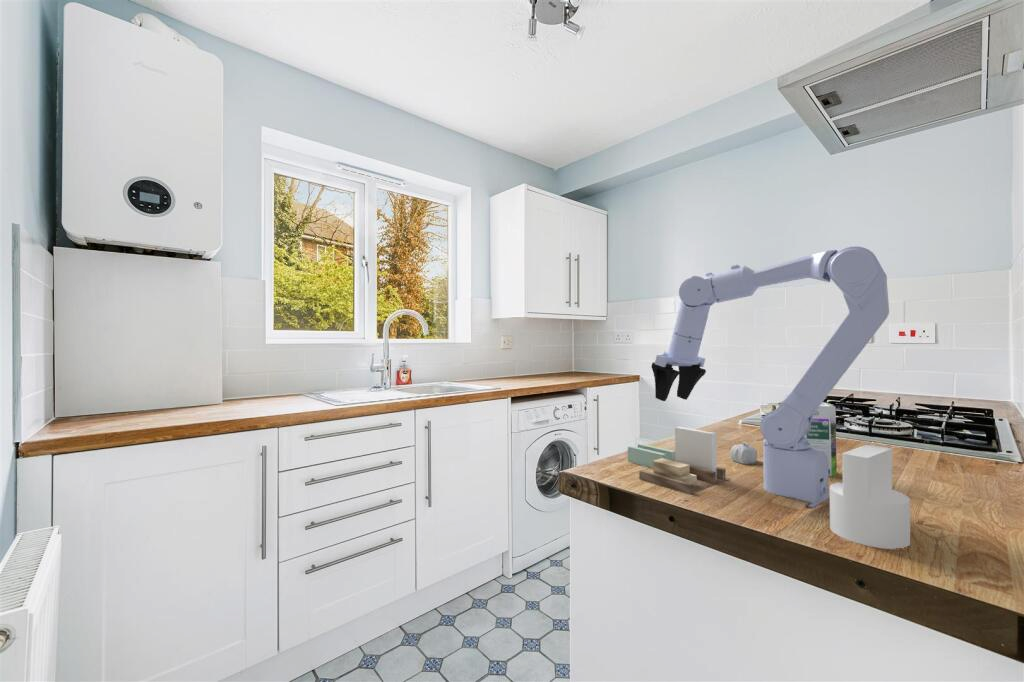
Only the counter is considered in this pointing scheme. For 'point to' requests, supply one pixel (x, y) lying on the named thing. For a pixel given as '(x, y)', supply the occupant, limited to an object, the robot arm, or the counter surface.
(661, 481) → the rack
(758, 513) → the counter surface
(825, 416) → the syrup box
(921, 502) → the counter surface
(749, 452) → the garlic
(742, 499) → the counter surface
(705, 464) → the white square panel
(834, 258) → the robot arm
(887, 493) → the cylinder with rectangular tab
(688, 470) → the offcut stack
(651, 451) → the stand
